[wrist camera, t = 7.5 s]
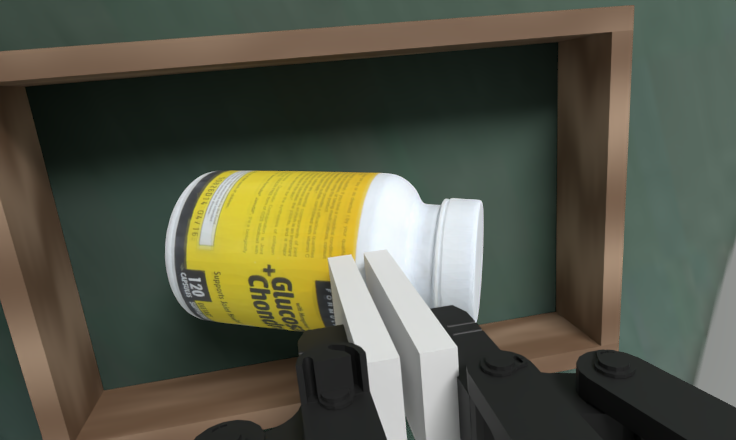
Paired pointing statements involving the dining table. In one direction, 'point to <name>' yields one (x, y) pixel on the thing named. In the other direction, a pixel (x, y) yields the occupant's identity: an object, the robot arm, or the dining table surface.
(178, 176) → the dining table surface
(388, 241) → the pill bottle
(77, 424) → the walnut frame
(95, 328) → the dining table surface
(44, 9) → the dining table surface
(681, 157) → the dining table surface
